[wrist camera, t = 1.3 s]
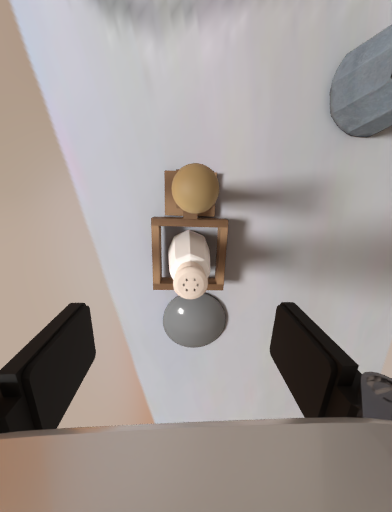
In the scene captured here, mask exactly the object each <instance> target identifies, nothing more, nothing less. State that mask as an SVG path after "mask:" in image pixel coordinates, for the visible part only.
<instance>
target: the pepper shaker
mask: <svg viewBox="0 0 392 512" xmlns="http://www.w3.org/2000/svg"><path fill="white" fill-rule="evenodd" d="M168 255H169V271H170V274H171V277H172V279H173V287H174V290H175V292H176V293H177V294H178V295H179V296H180V297H182V298H185V299H196V298H199V297H200V296H202V295H203V294H204V293H205V292H206V290H207V287H208V279H207V278H208V276H209V274H210V250H209V247H208V245H207V242H206V240H205V237H204V236H203V235H200V234H198V233H196V232H193V231H191V230H187V231H185V232H182V233H180V234H177V235H175V236H174V237H173V240H172V242H171V245H170V247H169V250H168Z"/></svg>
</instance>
